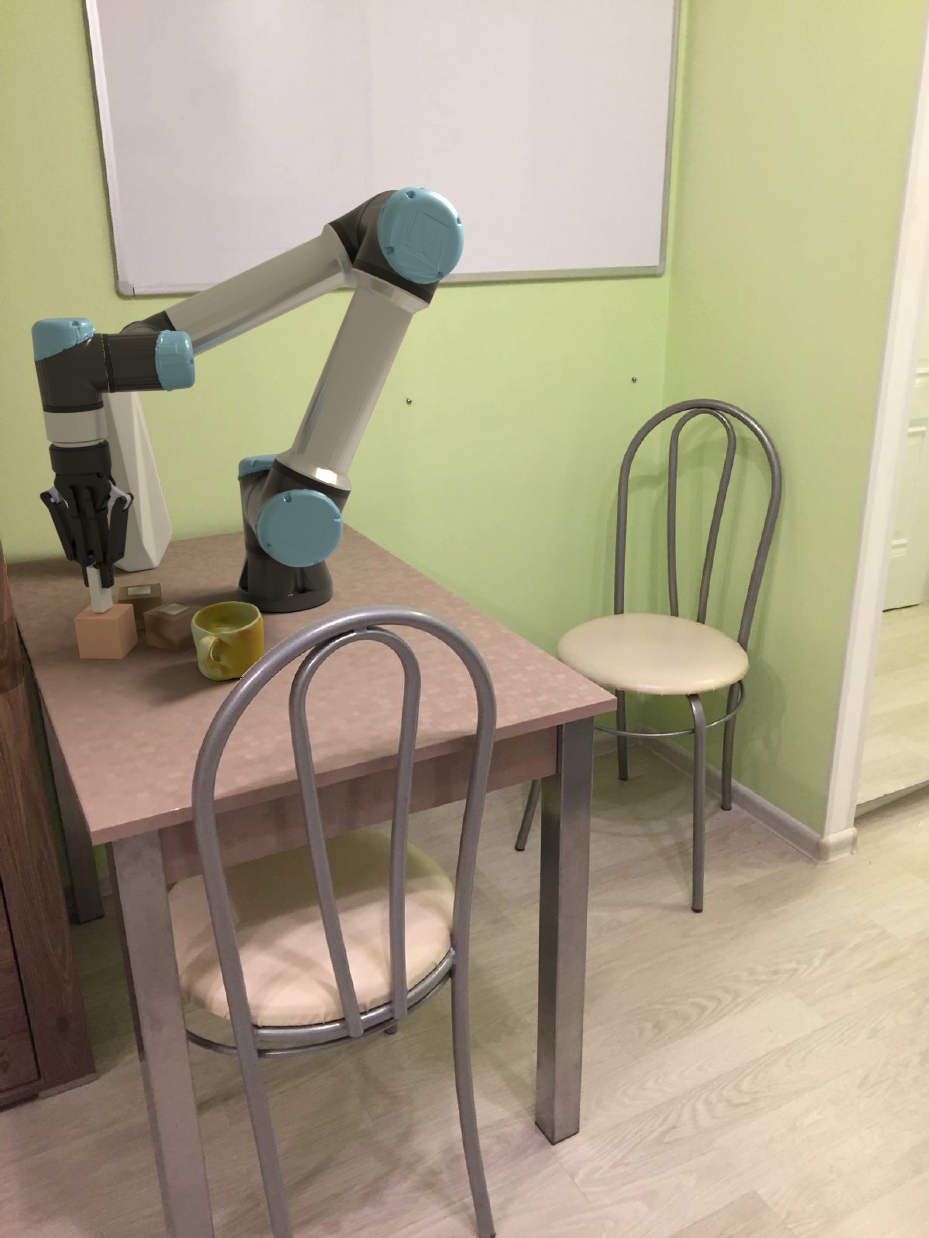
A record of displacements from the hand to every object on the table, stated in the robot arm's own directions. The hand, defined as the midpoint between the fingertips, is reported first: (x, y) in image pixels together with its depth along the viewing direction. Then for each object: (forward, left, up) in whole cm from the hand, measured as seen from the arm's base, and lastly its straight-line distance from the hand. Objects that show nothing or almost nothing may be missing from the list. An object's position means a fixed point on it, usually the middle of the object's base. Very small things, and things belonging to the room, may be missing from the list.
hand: (103, 608), depth 141 cm
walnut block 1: (+1, -11, -6) cm, 13 cm away
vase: (+16, -36, -7) cm, 40 cm away
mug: (-20, +4, -7) cm, 21 cm away
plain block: (0, 0, -6) cm, 6 cm away
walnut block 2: (-8, -5, -6) cm, 11 cm away
